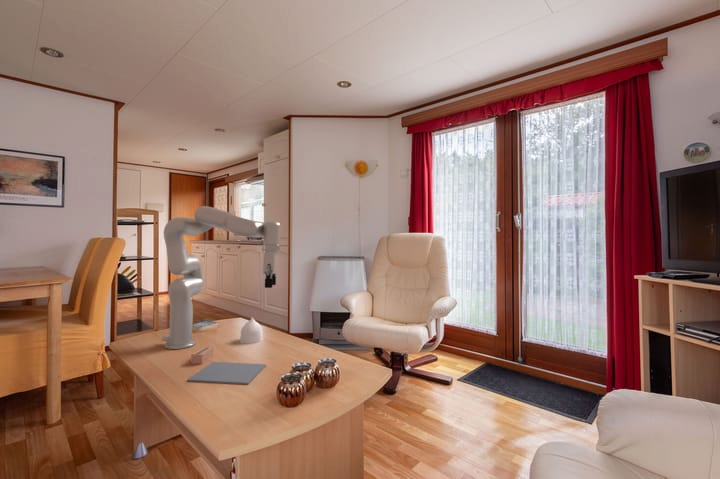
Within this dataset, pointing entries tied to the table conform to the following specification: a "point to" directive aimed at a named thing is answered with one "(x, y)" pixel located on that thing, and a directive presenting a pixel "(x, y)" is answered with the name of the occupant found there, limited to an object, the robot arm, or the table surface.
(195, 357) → the pinkish tan grooved block
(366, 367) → the table surface
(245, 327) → the white rounded dome
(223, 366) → the mat
